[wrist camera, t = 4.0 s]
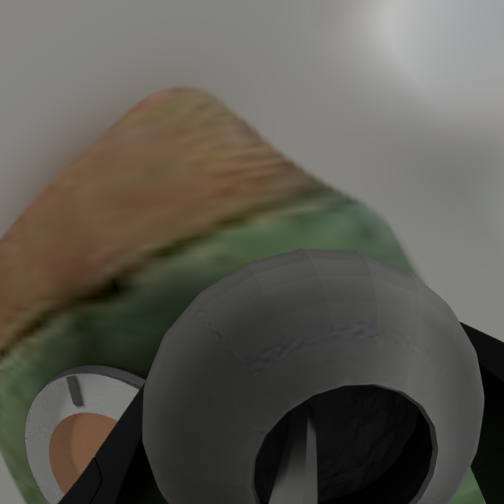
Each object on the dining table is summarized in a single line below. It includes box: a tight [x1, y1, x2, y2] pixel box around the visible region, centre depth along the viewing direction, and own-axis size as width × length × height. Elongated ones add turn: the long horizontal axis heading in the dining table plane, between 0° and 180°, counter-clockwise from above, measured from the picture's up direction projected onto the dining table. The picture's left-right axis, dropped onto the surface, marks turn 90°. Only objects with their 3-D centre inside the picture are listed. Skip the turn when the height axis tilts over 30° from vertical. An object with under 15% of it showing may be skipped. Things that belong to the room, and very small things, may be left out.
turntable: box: [25, 373, 141, 504], centre depth 15 cm, size 14×14×1 cm
